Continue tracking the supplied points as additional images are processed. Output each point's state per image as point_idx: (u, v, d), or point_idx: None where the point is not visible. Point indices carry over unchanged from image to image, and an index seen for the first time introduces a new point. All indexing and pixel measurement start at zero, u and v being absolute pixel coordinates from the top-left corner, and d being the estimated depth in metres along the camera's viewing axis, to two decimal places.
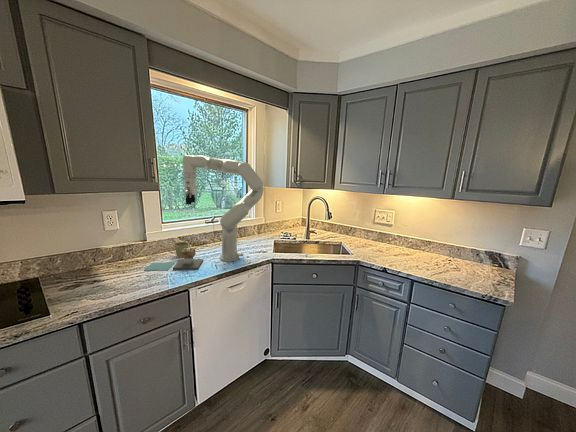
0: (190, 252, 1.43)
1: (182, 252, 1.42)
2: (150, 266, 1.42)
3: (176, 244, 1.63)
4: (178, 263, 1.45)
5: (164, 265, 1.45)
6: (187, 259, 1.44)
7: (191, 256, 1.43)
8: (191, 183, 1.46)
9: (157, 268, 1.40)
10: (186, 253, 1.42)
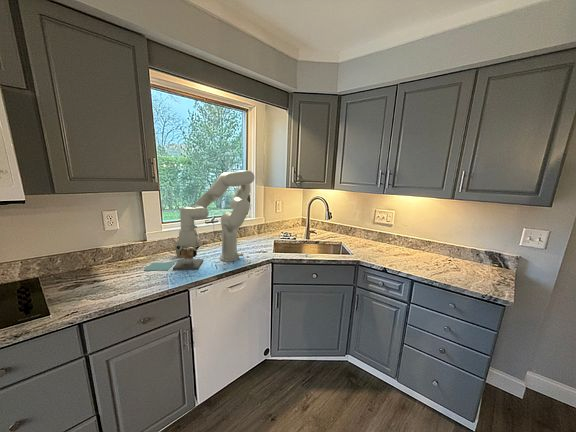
0: (190, 252, 1.43)
1: (182, 252, 1.42)
2: (150, 266, 1.42)
3: None
4: (178, 263, 1.45)
5: (164, 265, 1.45)
6: (187, 259, 1.44)
7: (191, 256, 1.43)
8: (196, 234, 1.46)
9: (157, 268, 1.40)
10: (186, 253, 1.42)
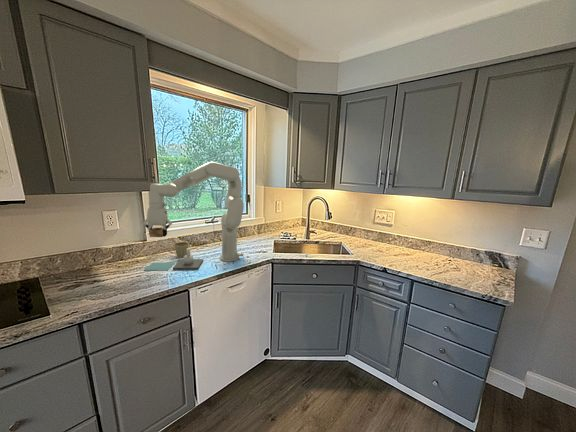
0: (159, 231, 1.37)
1: (151, 231, 1.36)
2: (150, 266, 1.42)
3: (176, 244, 1.63)
4: (178, 263, 1.45)
5: (164, 265, 1.45)
6: (187, 259, 1.44)
7: (160, 235, 1.37)
8: (166, 212, 1.40)
9: (157, 268, 1.40)
10: (155, 232, 1.36)
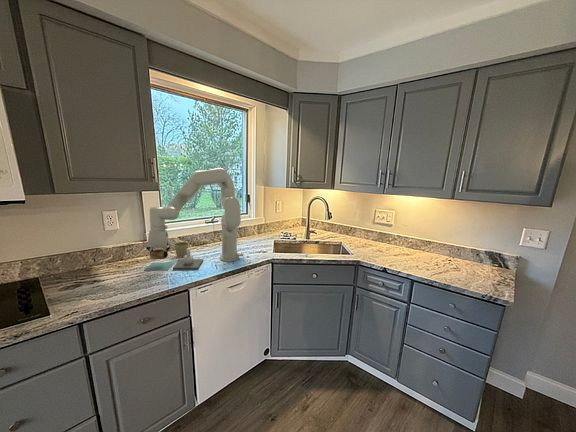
0: (160, 253, 1.39)
1: (152, 253, 1.38)
2: (150, 266, 1.42)
3: (176, 244, 1.63)
4: (178, 263, 1.45)
5: (164, 265, 1.45)
6: (187, 259, 1.44)
7: (161, 257, 1.39)
8: (167, 234, 1.43)
9: (157, 268, 1.40)
10: (156, 254, 1.39)
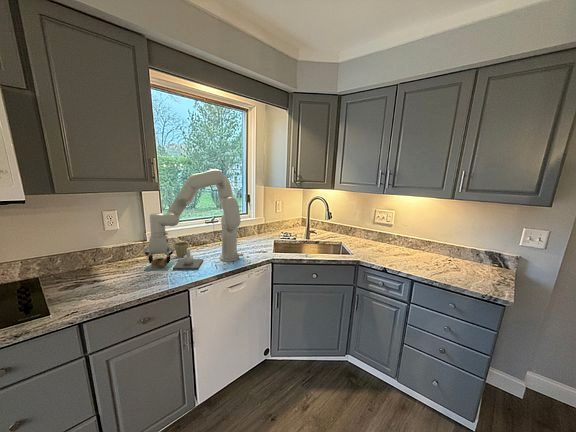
0: (161, 262, 1.40)
1: (153, 262, 1.39)
2: (150, 266, 1.42)
3: (176, 244, 1.63)
4: (178, 263, 1.45)
5: None
6: (187, 259, 1.44)
7: (162, 266, 1.40)
8: None
9: (157, 268, 1.40)
10: (157, 263, 1.40)
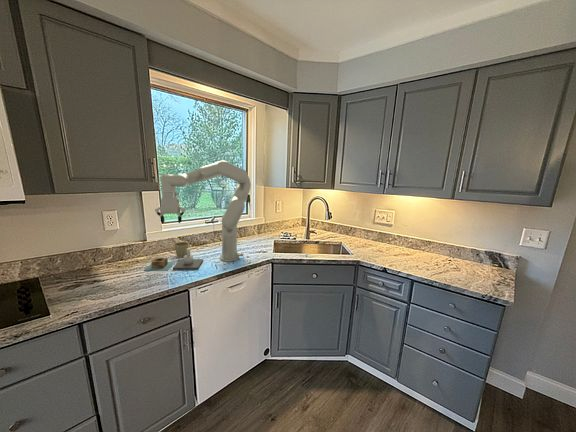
0: (161, 262, 1.40)
1: (153, 262, 1.39)
2: (150, 266, 1.42)
3: (176, 244, 1.63)
4: (178, 263, 1.45)
5: None
6: (187, 259, 1.44)
7: (162, 266, 1.40)
8: (178, 201, 1.50)
9: (157, 268, 1.40)
10: (157, 263, 1.40)
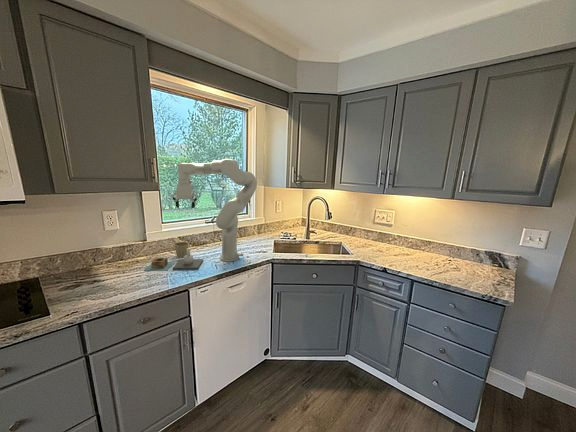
0: (161, 262, 1.40)
1: (153, 262, 1.39)
2: (150, 266, 1.42)
3: (176, 244, 1.63)
4: (178, 263, 1.45)
5: None
6: (187, 259, 1.44)
7: (162, 266, 1.40)
8: None
9: (157, 268, 1.40)
10: (157, 263, 1.40)
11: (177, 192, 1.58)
